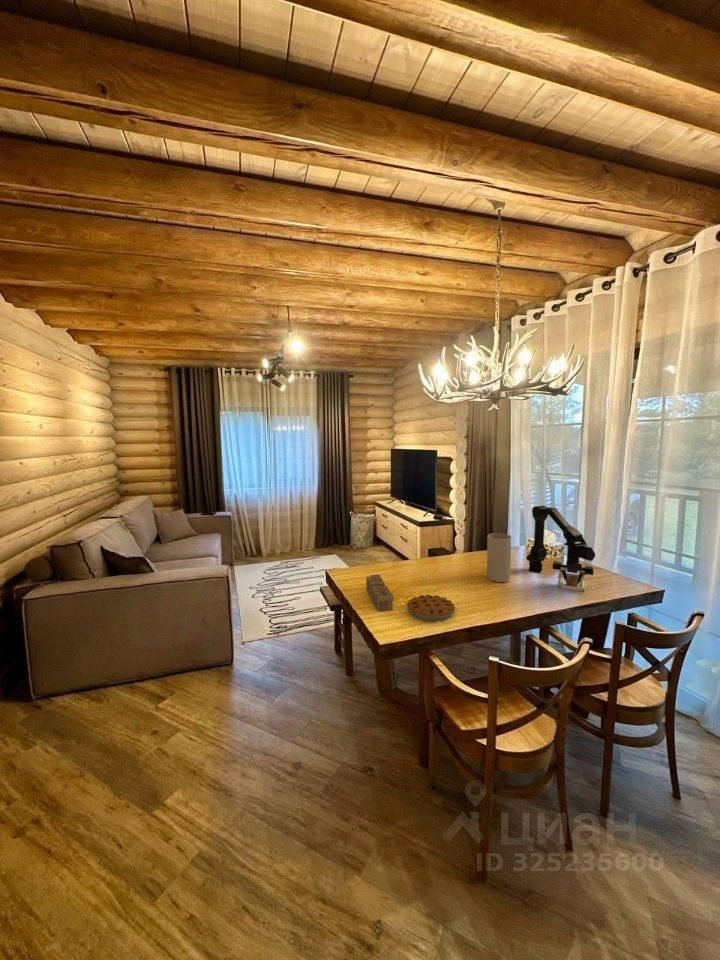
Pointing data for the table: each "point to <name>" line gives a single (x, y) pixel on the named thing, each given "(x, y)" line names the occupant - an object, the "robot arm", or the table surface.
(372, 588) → the block tower
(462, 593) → the table surface
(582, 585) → the light wooden flat tray
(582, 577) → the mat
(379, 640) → the table surface
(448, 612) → the pie
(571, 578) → the block
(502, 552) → the cylinder vase
